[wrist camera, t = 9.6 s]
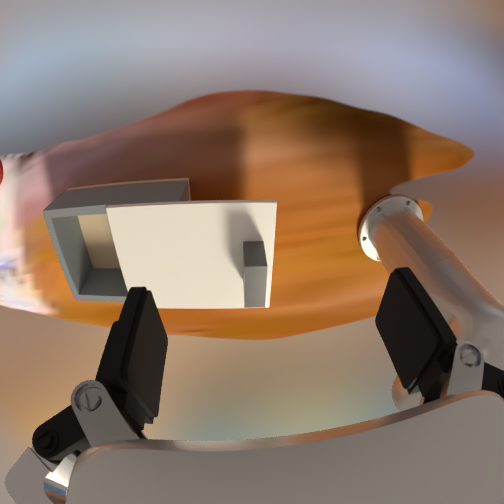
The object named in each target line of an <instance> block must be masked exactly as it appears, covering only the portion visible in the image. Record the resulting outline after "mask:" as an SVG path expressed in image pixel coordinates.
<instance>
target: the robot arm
mask: <svg viewBox="0 0 504 504" xmlns="http://www.w3.org/2000/svg"><path fill="white" fill-rule="evenodd" d="M358 239H359V244H360V247H361V248H362V250H363V252H364V253H365V254H366V255H367V256H368V257H369V258H371V259H373V260H375V261H380V262H382V264H383V265H384V267H385V268H386V270H387V271H388V273H389V275H390V277H389V280H388V283H387V286H386V289H385V292H384V295H383V298H382V301H381V304H380V307H379V310H378V313H377V316H376V320H375V323H376V326H377V329H378V331H379V333H380V335H381V337H382V340H383V342H384V344H385V346H386V349H387V351H388V353H389V355H390V358H391V360H392V362H393V365H394V367H395V369H396V372H397V374H398V375H397V376H396V378H395V379H394V381H393V384H392V389H391V394H392V399H393V402H394V405H395V407H396V409H397V411H398V413H394V414H391V415H388V416H384V417H380V418H376V419H373V420H369V421H365V422H361V423H356V424H352V425H348V426H343V427H338V428H333V429H328V430H322V431H316V432H310V433H304V434H297V435H289V436H281V437H271V438H260V439H246V440H224V441H179V440H152V439H148V438H147V437H146V436H145V434H144V433H143V432H142V430H143V429H144V423H148V424H153V419H154V417H157V416H158V411H159V403H160V395H161V387H162V379H163V372H164V365H165V359H166V352H167V346H168V338H167V334H166V332H165V329H164V326H163V323H162V321H161V318H160V315H159V312H158V309H157V306H156V303H155V301H154V298H153V295H152V292H151V290H147V288H146V287H131V288H130V289H129V292H128V294H127V297H126V300H125V303H124V305H123V308H122V311H121V314H120V317H119V320H118V321H115V322H114V323H113V325H112V327H111V331H110V334H109V336H108V339H107V343H106V345H105V349H104V352H103V355H102V358H101V361H100V365H99V368H98V372H97V375H96V379H95V381H94V380H87V381H84V382H81V383H80V384H79V385H77V386H76V387H75V389H74V390H73V392H72V395H71V405H70V406H68V407H67V408H66V409H64V410H62V411H61V412H59V413H58V414H57V415H55V416H53V417H52V418H51V419H49V420H48V421H46V422H45V423H43V424H41V425H40V426H39V427H38V428H37V429H36V430H35V432H34V434H33V438H32V444H33V446H32V448H30V447H28V448H27V449H26V450H25V452H24V453H23V454H22V455H21V457H20V458H19V459H18V461H17V462H16V463H15V464H14V466H13V467H12V468H11V470H10V471H9V472H8V474H7V476H6V479H5V485H6V489H7V491H8V493H9V494H10V495H11V497H12V498H13V499H14V501H15V502H16V503H17V504H504V305H503V304H502V303H501V302H500V301H499V300H498V299H496V298H495V297H494V296H493V295H492V294H491V293H490V292H489V291H488V290H487V289H486V288H485V287H484V286H483V285H482V284H481V283H480V282H479V281H478V280H477V279H476V277H475V276H474V275H473V274H472V273H471V272H470V271H469V270H468V269H467V267H466V266H465V265H464V264H463V263H462V262H461V261H460V260H459V258H458V257H457V256H456V255H455V254H454V253H453V252H452V251H451V250H450V249H449V248H448V246H446V245H445V243H444V242H443V241H442V240H441V239H440V238H439V237H438V236H437V235H436V234H435V233H434V232H433V231H432V230H431V229H430V228H429V227H428V226H427V225H426V224H425V223H424V222H423V214H422V211H421V209H420V207H419V206H418V204H417V203H416V202H415V201H414V200H412V199H411V198H409V197H407V196H404V195H398V194H397V195H390V196H387V197H384V198H382V199H380V200H379V201H377V202H376V203H375V204H373V205H372V206H371V207H370V208H369V209H368V211H367V212H366V214H365V215H364V217H363V219H362V221H361V223H360V227H359V232H358ZM67 487H68V489H67ZM66 490H67V496H66Z"/></svg>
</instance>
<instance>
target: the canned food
mask: <svg viewBox="0 0 504 504" xmlns="http://www.w3.org/2000/svg"><path fill="white" fill-rule="evenodd" d="M2 179H3V167H2V163H1V161H0V184H1V182H2Z"/></svg>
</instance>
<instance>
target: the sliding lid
mask: <svg viewBox="0 0 504 504" xmlns="http://www.w3.org/2000/svg"><path fill="white" fill-rule="evenodd" d="M276 208H277V202H276V200H206V201H176V202H154V203H135V204H120V205H108V206H107V208H106V211H107V215H108V220H109V224H110V228H111V233H112V237H113V241H114V245H115V248H116V252H117V256H118V260H119V263H120V267H121V270H122V274H123V277H124V280H125V284H126V287H127V290H128V292H129V289H130V288H131V287H146V288H147V290H151V292H152V295H153V298H154V301H155V303H156V306H157V308H264V307H269V304H270V291H271V279H272V266H273V252H274V238H275V223H276Z"/></svg>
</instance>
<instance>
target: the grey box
mask: <svg viewBox="0 0 504 504" xmlns="http://www.w3.org/2000/svg"><path fill="white" fill-rule="evenodd" d="M176 201H191V197H190V184H189V178H174V179H157V180H142V181H130V182H118V183H108V184H98V185H89V186H81V187H73V188H68V189H67V190H66V191H64V192H63V193H62V194H61V195H60V196H59V197H57V198H56V199H55V200H54V201H53V202H52V203H51V204H50V205H48V206H47V207H46V208H45V209H44V210H43V214H44V217H45V220H46V224H47V227H48V230H49V233H50V236H51V239H52V242H53V245H54V248H55V251H56V254H57V256H58V259H59V262H60V264H61V267H62V270H63V272H64V275H65V277H66V280H67V282H68V284H69V287H70V289H71V291H72V294H73V296H74V298H75V300H84V301H104V302H125V300H126V297H127V294H128V290H127V287H126V284H125V280H124V277H123V274H122V270H121V267H120V263H119V260H118V256H117V252H116V248H115V245H114V241H113V237H112V233H111V228H110V224H109V220H108V215H107V211H106V208H107V206H108V205H120V204H135V203H154V202H176Z"/></svg>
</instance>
